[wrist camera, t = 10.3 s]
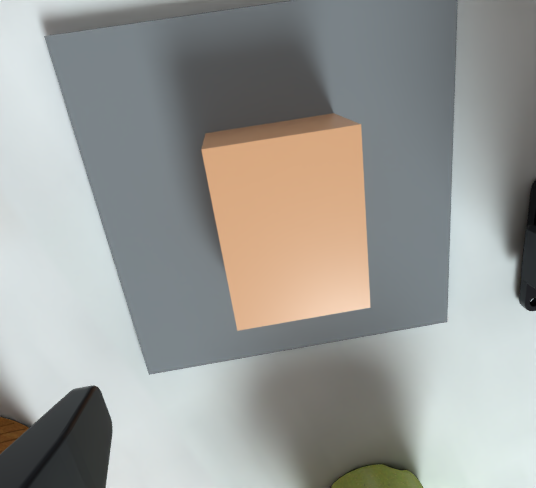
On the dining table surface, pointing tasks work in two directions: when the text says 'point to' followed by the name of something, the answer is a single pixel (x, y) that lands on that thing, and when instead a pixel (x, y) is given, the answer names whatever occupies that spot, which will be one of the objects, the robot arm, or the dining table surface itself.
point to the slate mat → (257, 113)
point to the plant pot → (378, 478)
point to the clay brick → (290, 218)
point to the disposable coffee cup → (10, 432)
